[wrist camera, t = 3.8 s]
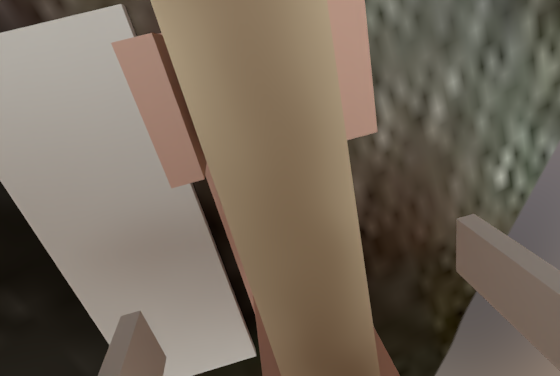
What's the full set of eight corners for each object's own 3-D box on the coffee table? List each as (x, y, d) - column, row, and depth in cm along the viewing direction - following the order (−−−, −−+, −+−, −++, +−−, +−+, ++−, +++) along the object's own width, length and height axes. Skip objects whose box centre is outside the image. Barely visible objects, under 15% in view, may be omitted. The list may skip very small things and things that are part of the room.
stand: (263, 332, 25) (283, 473, 16) (158, 34, 16) (88, 23, 8) (350, 306, 25) (412, 431, 17) (296, 0, 16) (372, -46, 8)
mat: (142, 384, 25) (140, 391, 24) (-73, 53, 15) (-85, 53, 14) (255, 349, 25) (256, 355, 25) (124, 5, 15) (120, 3, 14)
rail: (308, 426, 19) (326, 504, 15) (167, -7, 9) (138, -34, 6) (366, 408, 19) (395, 481, 16) (284, -35, 9) (316, -76, 6)
